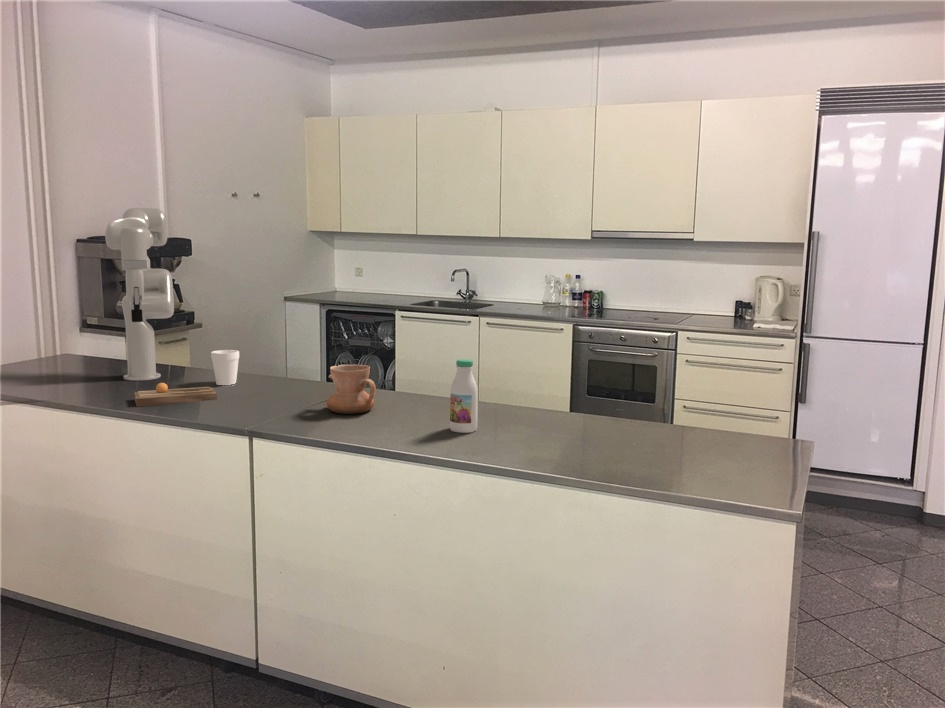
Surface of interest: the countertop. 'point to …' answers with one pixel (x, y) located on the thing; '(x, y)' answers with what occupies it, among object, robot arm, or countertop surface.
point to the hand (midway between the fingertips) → (137, 321)
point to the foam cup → (225, 366)
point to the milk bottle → (464, 399)
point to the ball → (161, 388)
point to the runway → (174, 396)
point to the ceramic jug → (351, 389)
